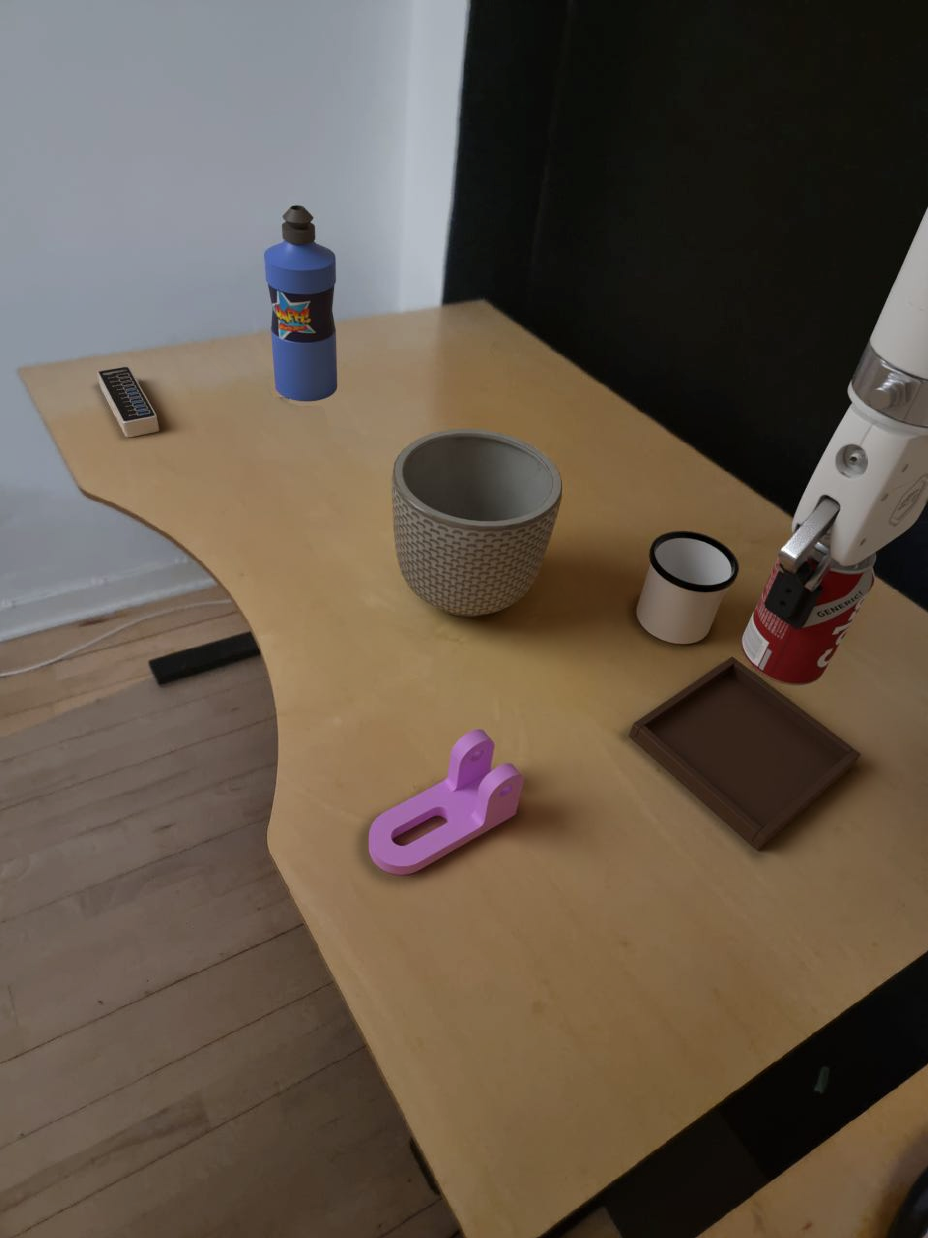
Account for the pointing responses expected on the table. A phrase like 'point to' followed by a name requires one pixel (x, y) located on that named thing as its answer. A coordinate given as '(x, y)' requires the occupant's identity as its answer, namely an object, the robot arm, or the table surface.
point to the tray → (744, 750)
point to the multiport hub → (128, 402)
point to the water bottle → (302, 310)
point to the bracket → (449, 808)
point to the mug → (685, 585)
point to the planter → (472, 518)
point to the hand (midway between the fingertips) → (812, 596)
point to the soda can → (807, 624)
